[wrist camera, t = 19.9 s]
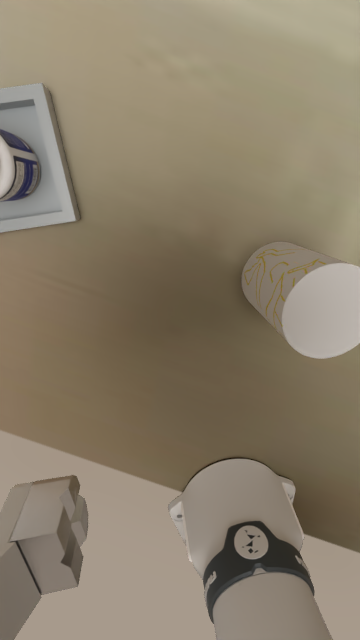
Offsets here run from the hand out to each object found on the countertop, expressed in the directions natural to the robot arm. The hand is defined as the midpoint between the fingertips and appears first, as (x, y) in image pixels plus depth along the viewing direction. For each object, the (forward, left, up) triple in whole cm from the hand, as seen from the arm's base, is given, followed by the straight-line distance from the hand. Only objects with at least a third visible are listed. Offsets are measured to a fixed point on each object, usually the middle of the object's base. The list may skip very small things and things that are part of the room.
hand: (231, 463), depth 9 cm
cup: (-4, -12, -29) cm, 32 cm away
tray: (+11, +13, -29) cm, 34 cm away
